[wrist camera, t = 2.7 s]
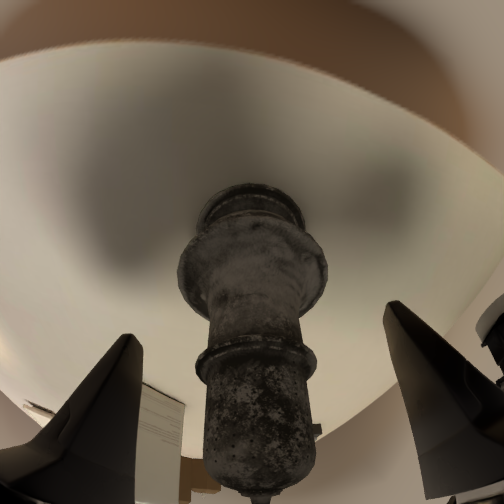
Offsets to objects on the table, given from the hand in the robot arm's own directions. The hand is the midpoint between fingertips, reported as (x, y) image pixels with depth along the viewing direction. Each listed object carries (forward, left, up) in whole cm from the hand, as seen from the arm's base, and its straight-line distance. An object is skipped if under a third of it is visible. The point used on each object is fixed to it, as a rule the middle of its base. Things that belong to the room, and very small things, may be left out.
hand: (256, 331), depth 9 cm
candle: (+25, +59, -6) cm, 65 cm away
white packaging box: (+15, +18, -6) cm, 25 cm away
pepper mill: (0, 0, -6) cm, 6 cm away
